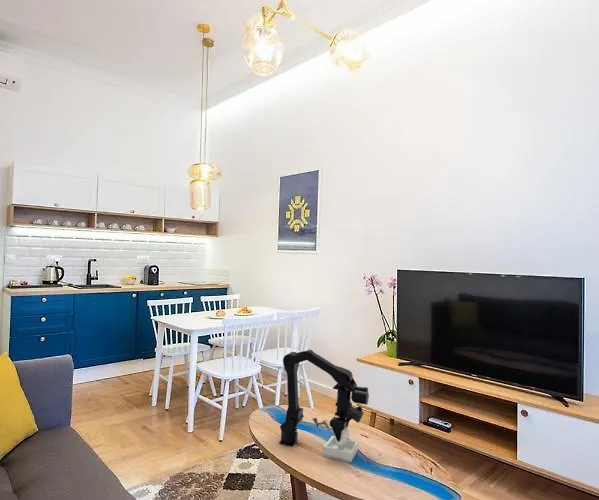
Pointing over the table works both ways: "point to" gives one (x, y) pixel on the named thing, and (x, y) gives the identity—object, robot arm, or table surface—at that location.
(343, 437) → the lightbulb
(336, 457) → the tray
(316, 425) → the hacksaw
